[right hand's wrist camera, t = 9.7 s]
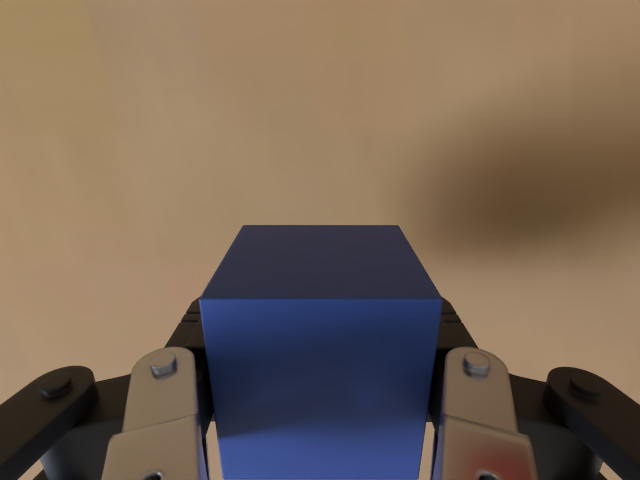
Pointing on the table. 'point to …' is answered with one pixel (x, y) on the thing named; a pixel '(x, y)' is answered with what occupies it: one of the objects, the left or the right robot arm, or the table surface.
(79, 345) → the table surface
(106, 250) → the table surface
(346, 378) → the block
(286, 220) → the table surface
